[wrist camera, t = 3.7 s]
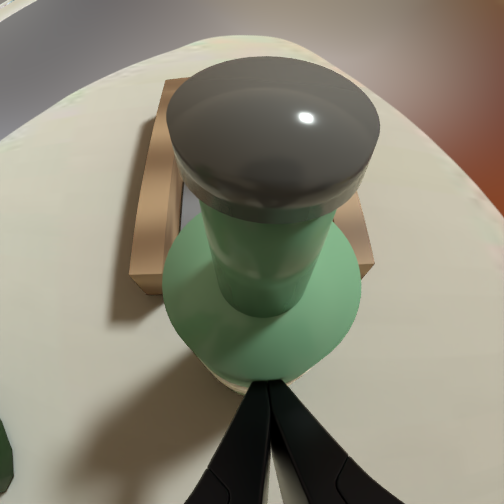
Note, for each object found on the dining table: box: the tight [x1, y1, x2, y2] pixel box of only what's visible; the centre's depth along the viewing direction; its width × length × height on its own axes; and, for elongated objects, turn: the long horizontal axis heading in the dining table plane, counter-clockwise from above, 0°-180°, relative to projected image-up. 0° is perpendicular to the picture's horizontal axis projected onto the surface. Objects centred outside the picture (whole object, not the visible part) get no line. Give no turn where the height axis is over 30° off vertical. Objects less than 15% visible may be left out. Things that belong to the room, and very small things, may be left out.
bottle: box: [162, 56, 380, 396], centre depth 11 cm, size 6×6×17 cm
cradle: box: [129, 77, 375, 295], centre depth 23 cm, size 19×14×4 cm
